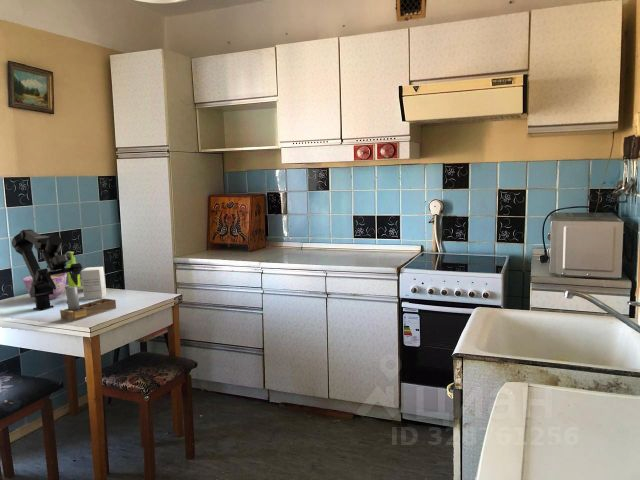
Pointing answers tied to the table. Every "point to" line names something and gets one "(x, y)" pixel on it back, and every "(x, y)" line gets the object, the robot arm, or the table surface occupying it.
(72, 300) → the plug
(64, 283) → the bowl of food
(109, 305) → the rack
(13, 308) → the table surface
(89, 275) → the supplement box
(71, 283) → the soap dispenser
